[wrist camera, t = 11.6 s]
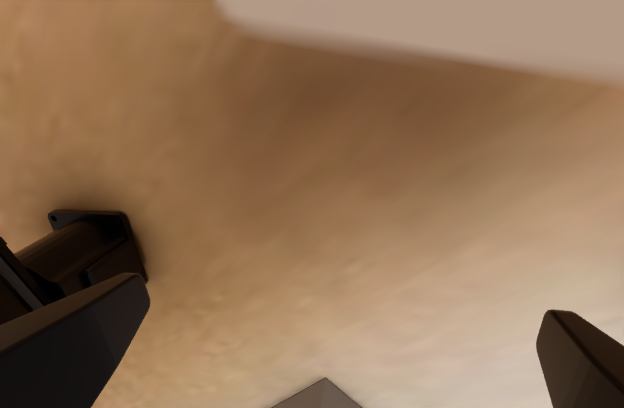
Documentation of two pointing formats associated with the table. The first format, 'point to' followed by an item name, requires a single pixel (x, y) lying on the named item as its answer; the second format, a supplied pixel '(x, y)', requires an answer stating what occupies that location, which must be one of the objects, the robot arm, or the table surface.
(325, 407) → the grey flat square block
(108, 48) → the table surface
